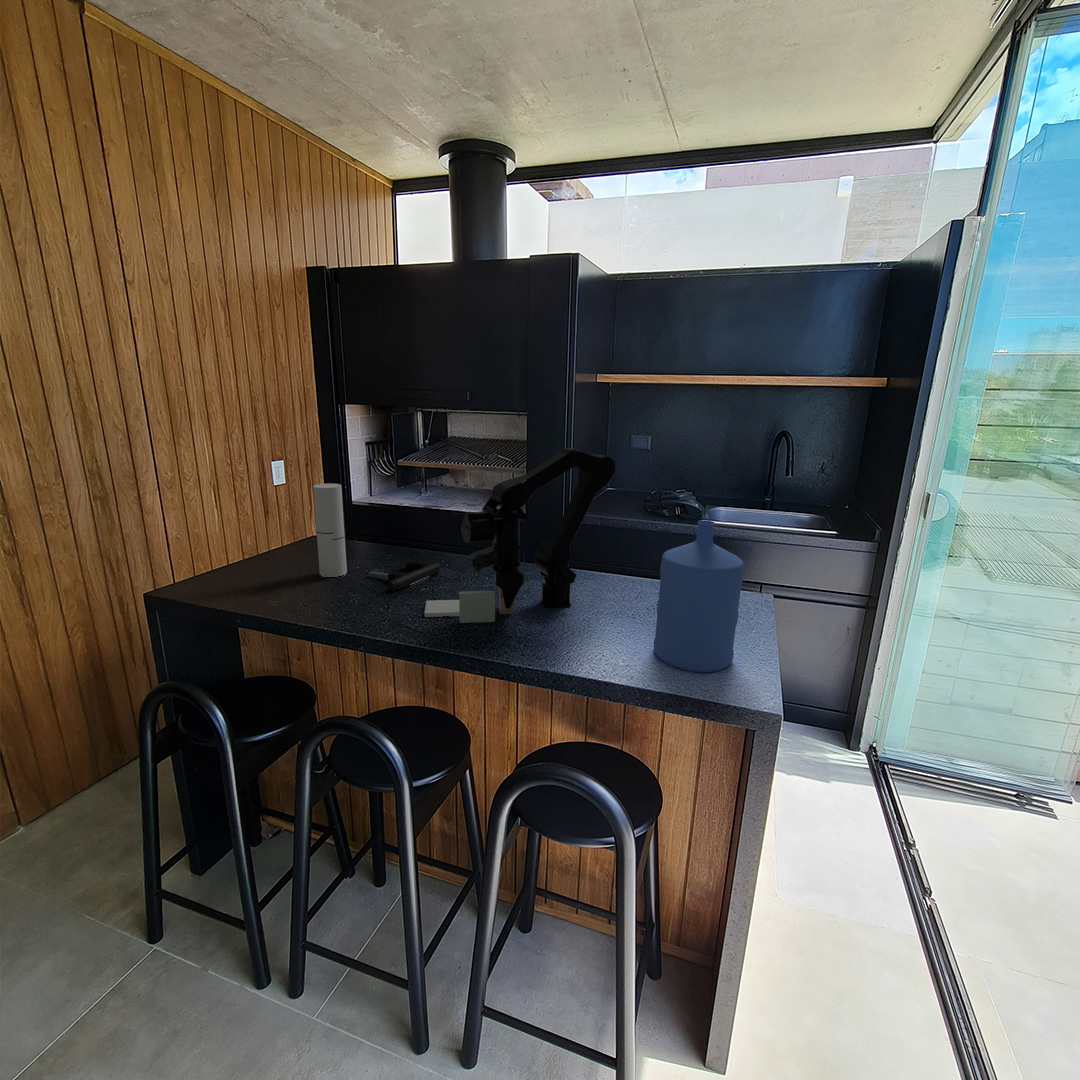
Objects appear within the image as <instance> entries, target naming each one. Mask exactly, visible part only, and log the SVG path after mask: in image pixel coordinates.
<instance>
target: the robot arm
mask: <svg viewBox="0 0 1080 1080" xmlns="http://www.w3.org/2000/svg"><path fill="white" fill-rule="evenodd" d="M573 468H575V469H579V470H578V474H577V475H578V480H577V481H578V483H577V484H578V485H577V486H576V489H575V490H574V493H573V495H572V497H571V499H570V501H569V503H568V505H567V507H566V509H565V511H564V514H563V516H562V517H561V519H560V521H559V524H558V525H557V528H556V529H555V531H554V534H553V535H552V537H551V538H549V539H548V540H547V541H546V540H544V539H542V540H541V541H540V542H539V546H538V548H537V549H536V551H535V552H533V555H535V556H534V559H533V562H534V565H535V568H536V569H537V570H538V571H539V574H540V575H541V576H542V577H543V582H542V583H541V584H540V600H541V602H542V603H543V604H544V607H545V608H557V607H558V608H560V607H562V608H563V607H571V606H572V603H571V601H570V599H571V598H570V597H571V584H574V583H575V580H576V577H577V575H576V573H575V572H574V571H573V570H572V569H571V568H570V567H569V564H570V560H571V547H572V544H573V542H574V540H575V538H576V535H577V534H578V531H579V529H580V527H581V525H582V523H583V521H584V520H585V517H586V515H587V513H588V511H589V509H590V507H591V505H592V503H593V501H594V499H595V497H596V495H597V494H598V492H600V491H601V490H603V488H605V487H606V486H607V485H608V484H609V482H610V481H611V479H612V478H613V476H614V474H615V472H616V468H617V467H616V464H615V461H614V459H612V458H611V457H610V456H607V455H604V454H603V455H602V454H596V453H590V454H588V453H586V452H582V451H580V450H578V449H576V448H570V447H565V448H563V449H562V450H560V452H559V453H557V454H555V455H553V456H552V457H551V458H548V459H547V460H546V461H544V462H543V463H541V464H539V465H538V466H536V467H534V468H533V469H531V470H529V471H528V472H526V473H525V474H523V475H521V476H517V477H513V478H508V479H506V480H504V481H501V482H498V483H496V485H494V486H493V488H492V491H491V496H490V497H489V498H488V500H487V501H486V503H485V504H484V505H483V507H482V509H481V511H465V512H464V518H463V519H462V523H461V525H460V530H461V536H462V539H463V541H464V542H465V543H468V544H469V543H477V542H479V543H480V542H487V541H492V540H493V539H494V540H493V541H492V546H489V547H486V548H483V549H480V550H477V551H475V552H472V553H470V554H469V560H470V562H471V565H472V567H473V570H474V572H478V571H481V570H482V569H485V568H487V567H490V566H492V570H494V571H495V572H494V582H495V586H497V587H498V588H501V589H502V592H503V598H504V603H505V608H506V609H508V608H510V607H511V605H512V603H513V604H514V601H515V600H516V597H517V595H518V593H519V591H520V590H521V588H522V587H523V585H524V584H525V575H524V573H523V571H522V570H521V569H520V568H519V567H520V566H521V562H520V550H521V543H520V527H521V526H520V522H521V520H525V519H526V520H528V519H529V515H528V514H527V513H526V512H525V511H524V510H523V508H522V507H523V506H524V505H526V504H527V503H528V502H529V501H530V500H531V498H532V496H533V494H534V493H536V491H538V490H539V489H541V488H543V487H544V486H546V485H547V484H548V483H550V482H552V481H553V480H555V479H557V478H558V477H560V476H562V475H563V474H565V473H567V472H568V471H569V470H571V469H573ZM497 507H499V508H497Z"/></svg>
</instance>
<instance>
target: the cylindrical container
mask: <svg viewBox="0 0 1080 1080" xmlns="http://www.w3.org/2000/svg"><path fill="white" fill-rule="evenodd" d="M312 488H313V489H312V490H313V503H314V504H313V505H314V515H315V526H316V527H315V530H316V542H317V544H316V545H317V553H318V567H319V576H320V575H321V576H323V577H322V578H324V577H337V578H339V577H338V576H342V575H344V576H346V575H347V574H348V569H347V567H348V566H347V554H346V553H347V552H346V540H345V537H346V536H345V523H344V522H345V521H344V508H343V507H344V506H343V505H344V504H343V492H342V491H343V490H342V489H343V488H342V484H339V483H318V484H314V485H313V486H312ZM346 573H347V574H346ZM345 574H346V575H345ZM321 576H320V577H321ZM342 577H343V576H342Z"/></svg>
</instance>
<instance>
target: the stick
mask: <svg viewBox="0 0 1080 1080" xmlns="http://www.w3.org/2000/svg"><path fill="white" fill-rule="evenodd" d="M498 588H499V587H498ZM498 590H499V594H498V595H499V600H498V602H499V603H498V604H499V605H498V607H499V609H498V610H499V615H513V613H514V602H513V603H512V605H511V607H510V608H508V609H506V608H505V603H504V598H503V592H502V589H501V588H499V589H498Z"/></svg>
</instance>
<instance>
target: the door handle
mask: <svg viewBox="0 0 1080 1080" xmlns="http://www.w3.org/2000/svg"><path fill="white" fill-rule="evenodd" d="M441 568H442V567H441V565H440V564H439V563H437V562H434V563H427V562H419V561H408V562H406V563H405V565H404V567H403V568H399V569H398V570H394V571H392V572H389V573H388V572H381V571H376V570H371V571H369V572H368V571H367V572H368V573H367V576H372V577H376V578H380V579H385V580H388V581H387V585H386V586H387V587H386V588H387V589H388V590H389V591H390V592H396V590H397V591H398V590H401V589H405V588H406V587H409V586H408V585H412V584H414V585H416V584H415V583H417V582H419V581H421V580H423V579H426V578H428V577H432V576H434V575H437V574H439V573H440V571H441V570H442V569H441ZM414 570H415V571H414ZM412 571H413V572H412ZM409 572H411V573H409ZM433 574H434V575H433ZM431 575H432V576H431ZM376 578H375V579H376ZM380 579H379V580H380ZM428 579H429V578H428ZM385 580H384V581H385ZM426 580H427V579H426ZM423 581H424V580H423ZM421 582H422V581H421ZM419 583H420V582H419ZM417 584H418V583H417ZM412 586H413V585H412Z"/></svg>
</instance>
